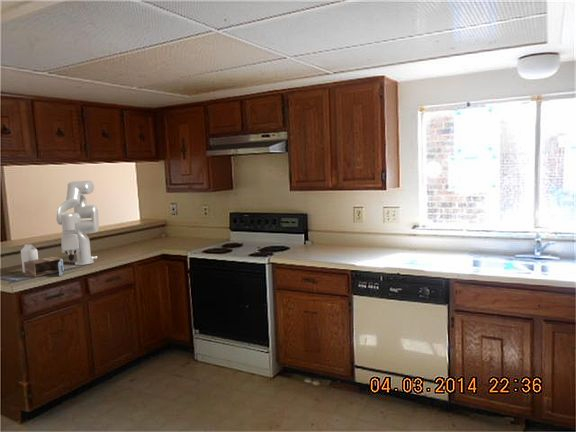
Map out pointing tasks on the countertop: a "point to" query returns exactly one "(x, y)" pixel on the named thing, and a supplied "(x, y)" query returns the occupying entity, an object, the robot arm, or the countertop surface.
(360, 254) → the countertop surface
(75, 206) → the robot arm
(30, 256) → the milk carton
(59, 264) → the cabinet door
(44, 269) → the walnut cabinet
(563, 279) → the countertop surface
